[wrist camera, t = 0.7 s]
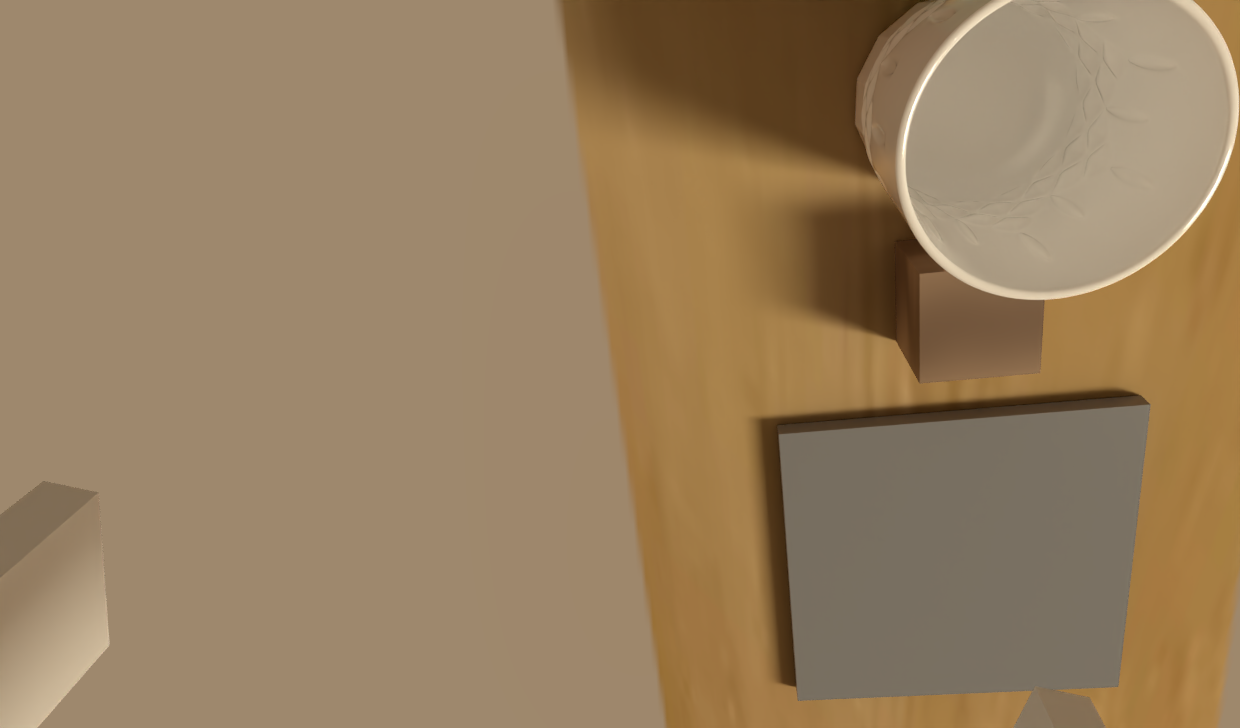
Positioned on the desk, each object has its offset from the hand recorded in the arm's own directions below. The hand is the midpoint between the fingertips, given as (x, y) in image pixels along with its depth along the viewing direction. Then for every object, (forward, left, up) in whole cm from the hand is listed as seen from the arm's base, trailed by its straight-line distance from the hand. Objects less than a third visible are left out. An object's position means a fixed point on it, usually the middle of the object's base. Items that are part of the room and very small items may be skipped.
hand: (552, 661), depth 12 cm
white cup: (-10, +7, -23) cm, 26 cm away
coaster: (+5, +19, -23) cm, 30 cm away
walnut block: (-4, +11, -23) cm, 26 cm away
